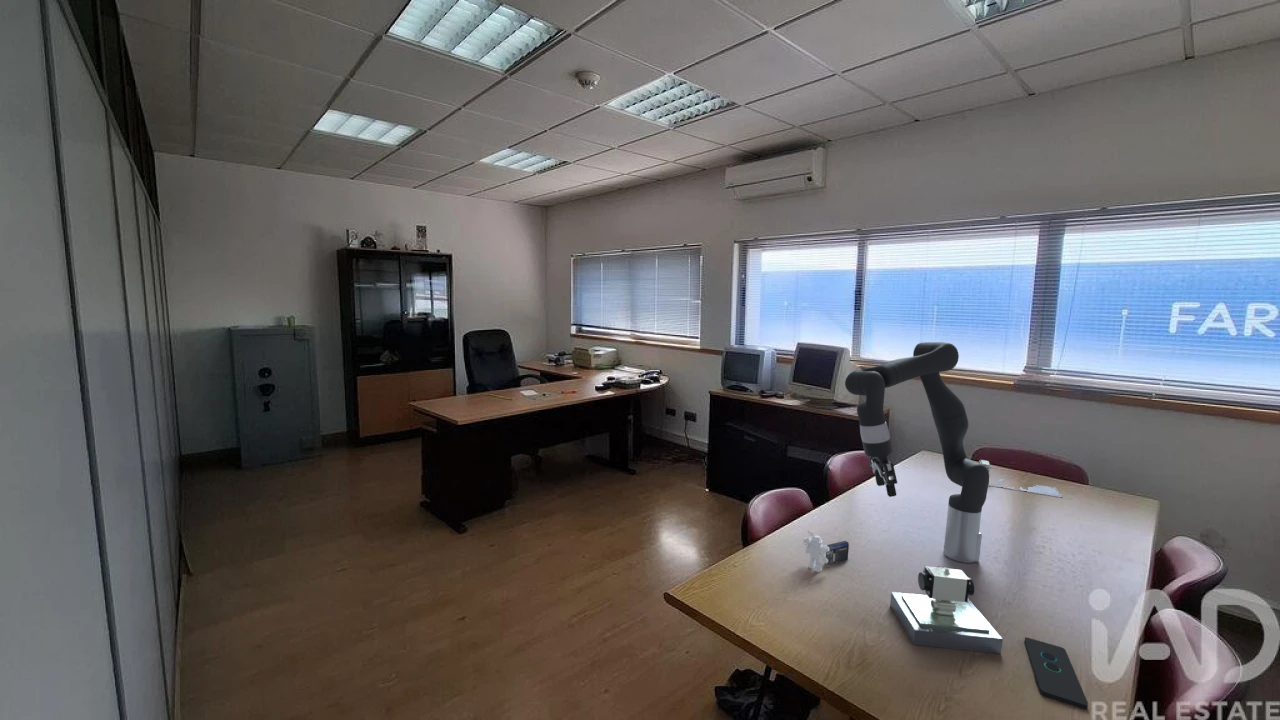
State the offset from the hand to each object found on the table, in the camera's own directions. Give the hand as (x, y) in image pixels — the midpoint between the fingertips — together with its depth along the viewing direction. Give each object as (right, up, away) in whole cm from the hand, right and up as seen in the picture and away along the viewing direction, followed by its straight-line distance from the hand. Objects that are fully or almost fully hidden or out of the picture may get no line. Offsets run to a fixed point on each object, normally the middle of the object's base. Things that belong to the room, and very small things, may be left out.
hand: (886, 490), depth 145 cm
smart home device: (+23, -35, -30) cm, 52 cm away
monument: (+101, -21, +85) cm, 134 cm away
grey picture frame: (+7, -32, -15) cm, 36 cm away
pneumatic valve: (+7, -28, -16) cm, 32 cm away
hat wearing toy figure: (-17, -28, +12) cm, 35 cm away
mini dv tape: (-8, -28, +17) cm, 33 cm away
